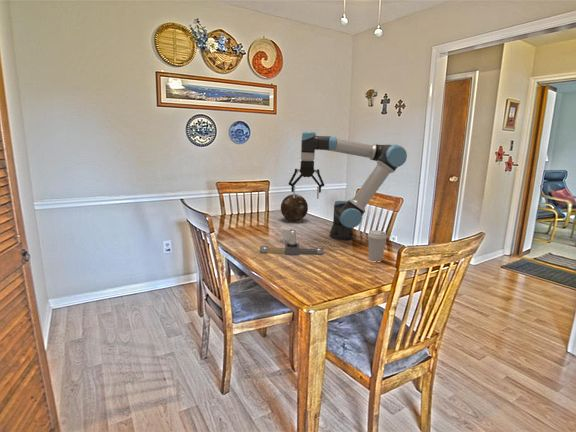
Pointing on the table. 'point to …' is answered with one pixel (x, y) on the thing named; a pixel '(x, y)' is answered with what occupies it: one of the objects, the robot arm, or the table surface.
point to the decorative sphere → (294, 207)
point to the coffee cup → (376, 245)
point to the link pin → (292, 238)
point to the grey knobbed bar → (292, 250)
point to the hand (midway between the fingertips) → (305, 198)
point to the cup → (284, 233)
